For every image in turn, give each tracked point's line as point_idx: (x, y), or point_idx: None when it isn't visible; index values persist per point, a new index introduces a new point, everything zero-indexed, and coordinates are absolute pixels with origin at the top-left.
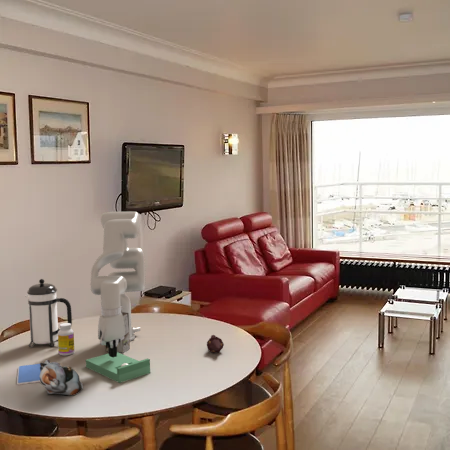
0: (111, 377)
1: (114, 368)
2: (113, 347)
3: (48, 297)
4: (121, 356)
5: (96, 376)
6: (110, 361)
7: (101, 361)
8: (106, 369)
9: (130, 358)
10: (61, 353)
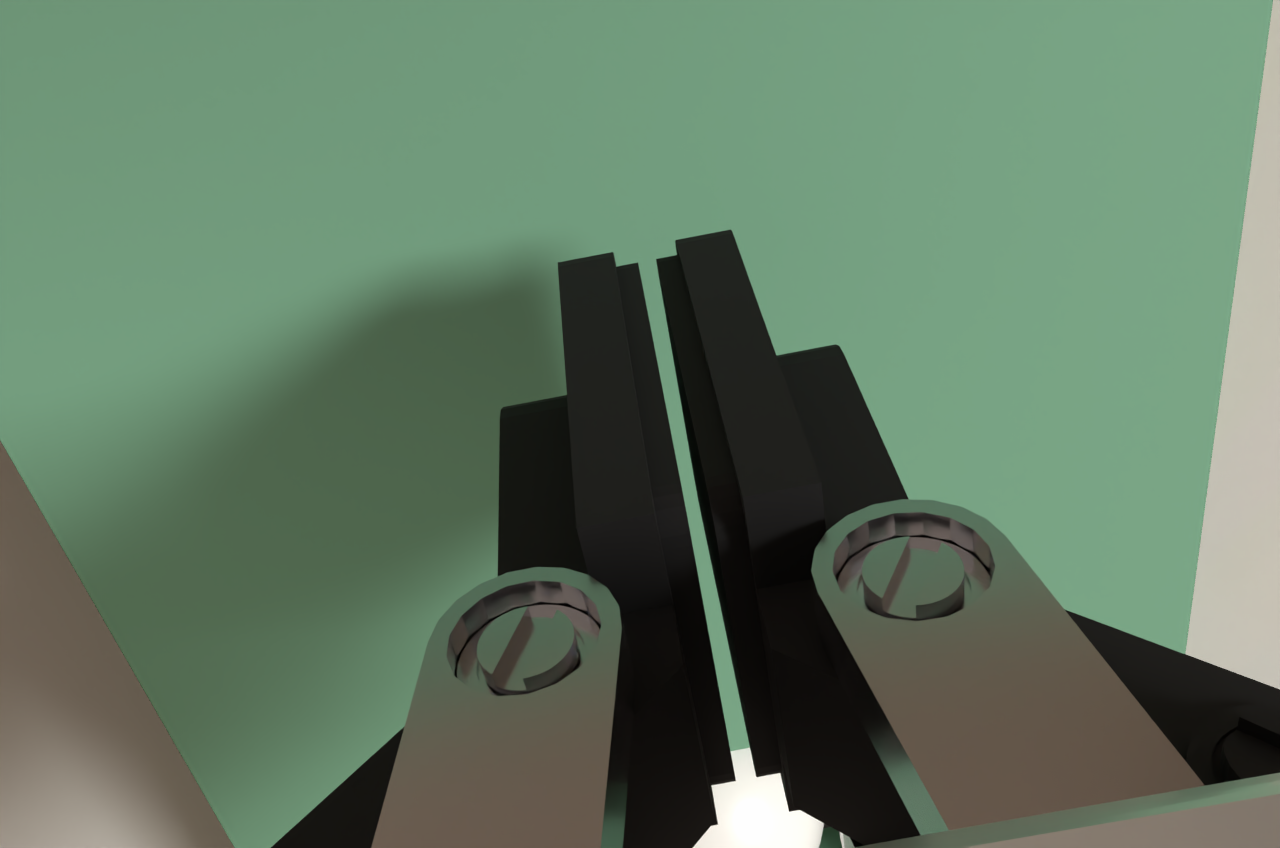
0: None
1: None
2: (708, 782)
3: None
4: (1089, 102)
5: (11, 530)
6: (523, 359)
7: (221, 189)
8: (215, 812)
9: (1162, 442)
10: None
